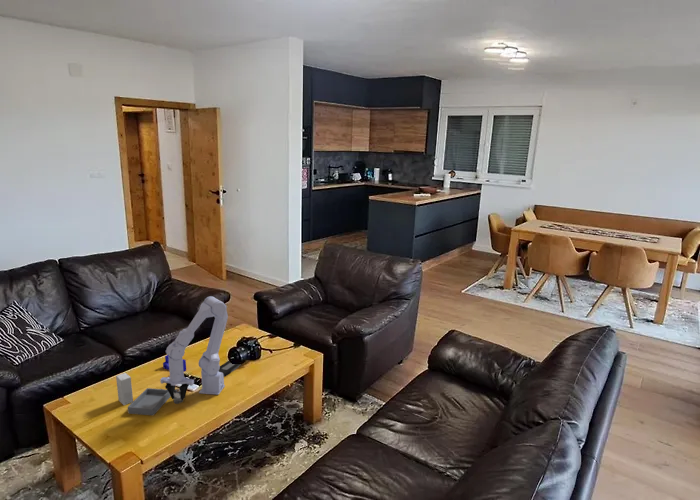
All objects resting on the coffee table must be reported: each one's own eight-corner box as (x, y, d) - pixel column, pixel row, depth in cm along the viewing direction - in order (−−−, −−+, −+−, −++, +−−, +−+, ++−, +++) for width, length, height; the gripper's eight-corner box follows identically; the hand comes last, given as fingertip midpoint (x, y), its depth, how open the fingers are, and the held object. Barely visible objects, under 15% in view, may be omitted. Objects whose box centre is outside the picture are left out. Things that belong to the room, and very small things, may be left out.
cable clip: (163, 368, 227) (162, 357, 226) (170, 364, 231) (170, 353, 230) (178, 374, 221) (178, 363, 220) (186, 370, 225) (185, 359, 224)
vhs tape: (243, 365, 233) (243, 361, 232) (225, 377, 220) (225, 374, 219) (231, 362, 236) (231, 358, 235) (213, 374, 223) (212, 370, 222)
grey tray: (171, 395, 202) (170, 389, 202) (153, 415, 188) (152, 409, 187) (147, 394, 203) (147, 388, 203) (128, 413, 189) (127, 407, 188)
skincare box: (133, 401, 197) (131, 377, 194) (123, 405, 194) (120, 380, 191) (128, 396, 201) (125, 372, 198) (118, 400, 198) (115, 375, 195)
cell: (185, 399, 200) (184, 387, 199) (180, 404, 196) (180, 392, 195) (176, 398, 200) (175, 387, 199) (172, 403, 197) (171, 392, 195)
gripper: (155, 373, 192) (158, 402, 195) (188, 376, 190) (190, 404, 193) (164, 365, 199) (166, 393, 202) (195, 368, 197) (197, 395, 200)
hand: (178, 398), depth 198 cm, fingers closed on cell, 4 cm apart
